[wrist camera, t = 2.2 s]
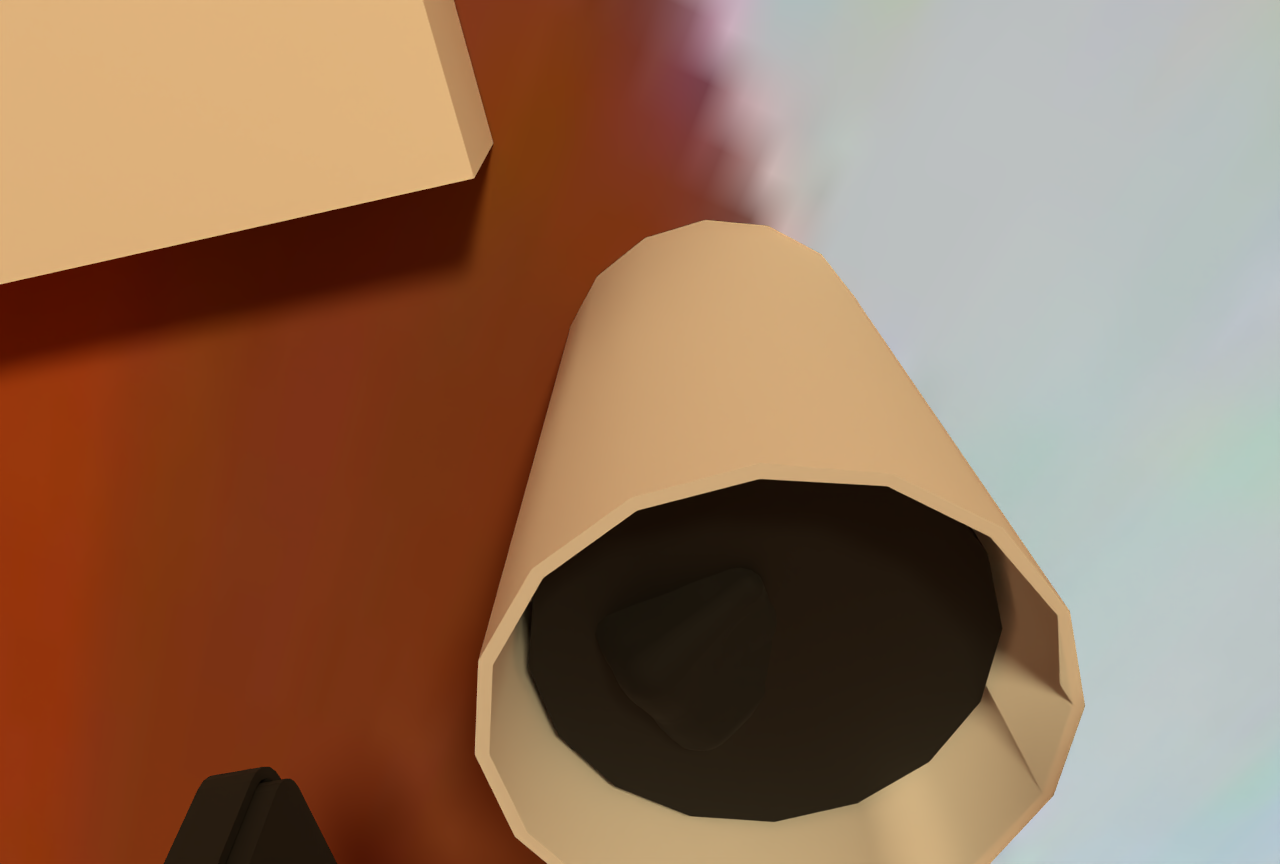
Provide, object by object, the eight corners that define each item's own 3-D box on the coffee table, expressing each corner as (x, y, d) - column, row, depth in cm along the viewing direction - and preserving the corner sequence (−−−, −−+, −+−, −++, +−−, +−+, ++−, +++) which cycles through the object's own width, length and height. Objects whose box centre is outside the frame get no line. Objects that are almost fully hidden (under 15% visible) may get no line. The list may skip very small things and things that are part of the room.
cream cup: (644, 567, 23) (650, 1003, 14) (474, 301, 20) (348, 630, 11) (944, 432, 22) (1162, 821, 13) (803, 126, 19) (952, 346, 10)
